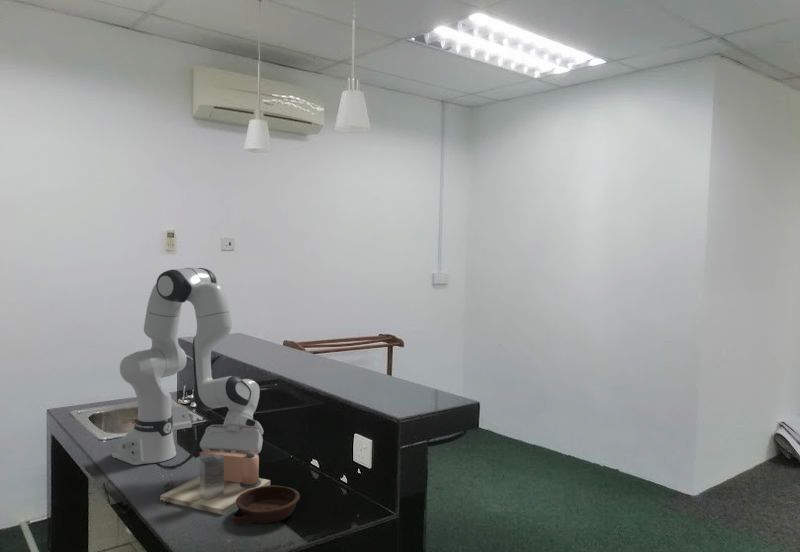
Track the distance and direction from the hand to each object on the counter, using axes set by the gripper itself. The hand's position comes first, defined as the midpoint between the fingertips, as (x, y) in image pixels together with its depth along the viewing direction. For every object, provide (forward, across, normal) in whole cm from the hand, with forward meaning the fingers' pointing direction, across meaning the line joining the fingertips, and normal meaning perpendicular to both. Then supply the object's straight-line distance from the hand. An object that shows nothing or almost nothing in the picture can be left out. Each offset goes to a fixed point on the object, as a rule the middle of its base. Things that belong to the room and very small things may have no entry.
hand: (224, 464), depth 187 cm
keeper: (+12, +1, -6) cm, 14 cm away
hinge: (-30, -47, +39) cm, 68 cm away
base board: (+9, +1, -1) cm, 9 cm away
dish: (+17, +22, -8) cm, 29 cm away
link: (+4, +3, +1) cm, 5 cm away
